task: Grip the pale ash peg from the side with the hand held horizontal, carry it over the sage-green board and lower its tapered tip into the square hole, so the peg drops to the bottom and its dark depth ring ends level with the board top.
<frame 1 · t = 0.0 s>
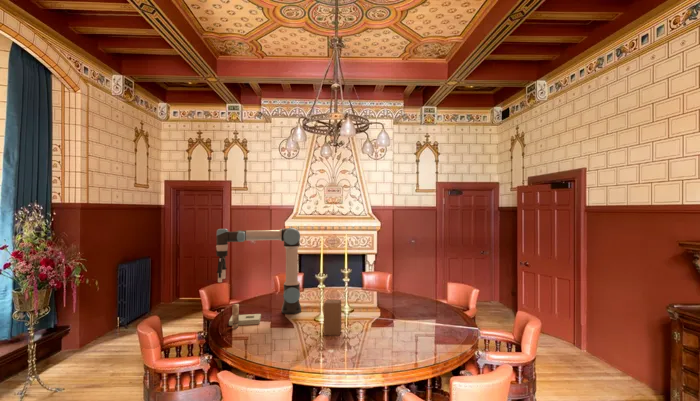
hand: (221, 280, 250), 28 cm above the table, tool pointing down, fingers open, 13 cm apart
block: (332, 333, 221), on the table
board: (245, 321, 246), on the table
peg: (235, 327, 233), on the table
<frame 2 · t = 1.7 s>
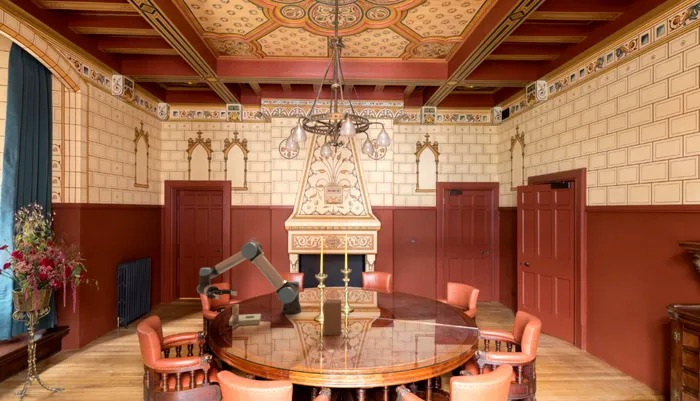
hand: (227, 295, 240), 20 cm above the table, tool horizontal, fingers open, 13 cm apart
nothing on the table moved.
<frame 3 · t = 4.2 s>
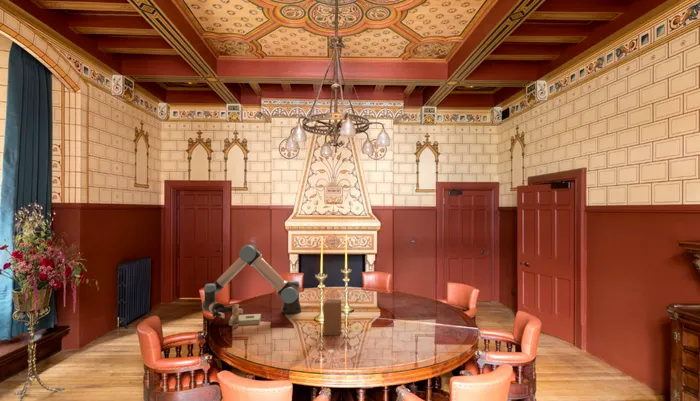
hand: (233, 313, 234), 9 cm above the table, tool horizontal, fingers open, 13 cm apart
nothing on the table moved.
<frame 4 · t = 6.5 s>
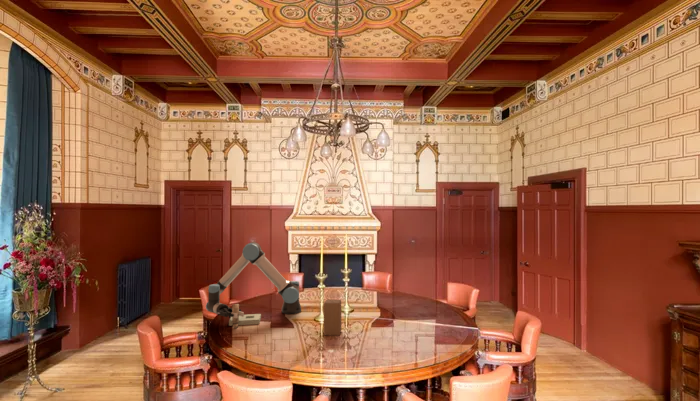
hand: (240, 315, 230), 9 cm above the table, tool horizontal, fingers closed on peg, 4 cm apart
peg: (235, 327, 233), on the table, touching gripper
everything else where it was.
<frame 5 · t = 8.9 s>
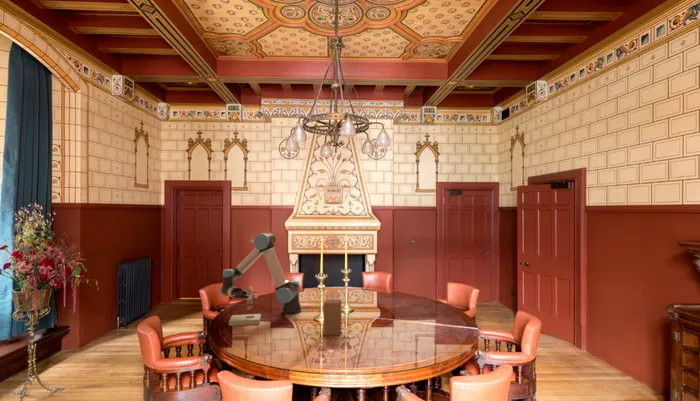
hand: (254, 296, 243), 18 cm above the table, tool horizontal, fingers closed on peg, 4 cm apart
peg: (249, 308, 246), point 9 cm above the table, touching gripper
everything else where it was.
when the fingers open (10 cm above the table, at t = 11.5 s): peg stays where it is, resting in board.
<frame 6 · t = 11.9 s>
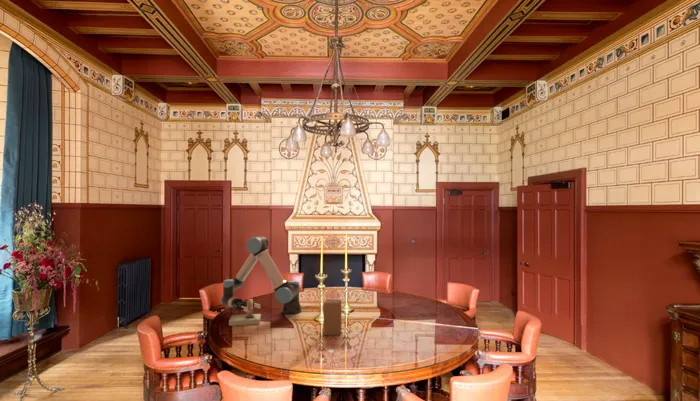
hand: (253, 308, 244), 10 cm above the table, tool horizontal, fingers open, 10 cm apart
peg: (249, 321, 246), resting in board
everything else where it was.
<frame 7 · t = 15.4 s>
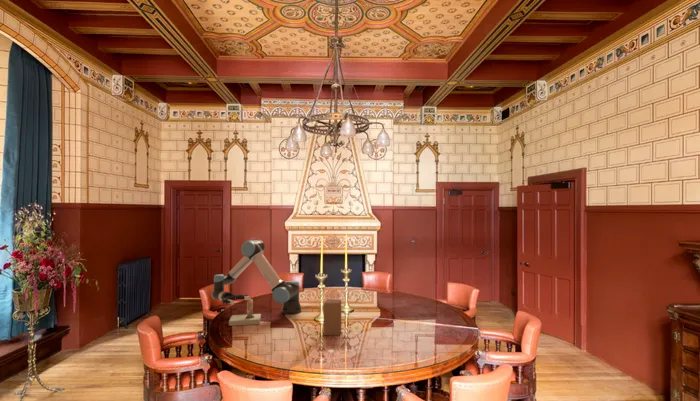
hand: (241, 300, 253), 13 cm above the table, tool horizontal, fingers open, 13 cm apart
nothing on the table moved.
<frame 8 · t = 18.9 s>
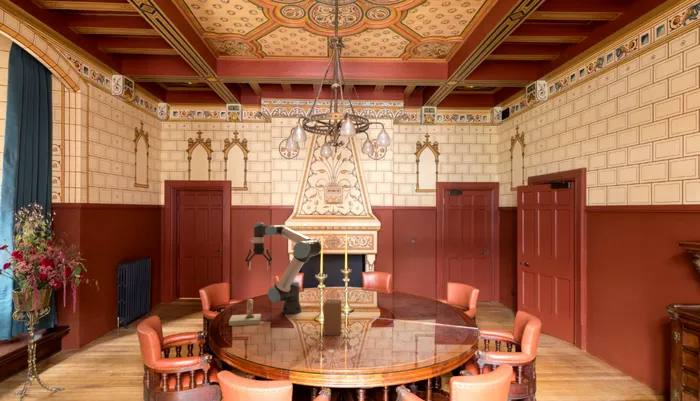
hand: (258, 270, 273), 32 cm above the table, tool pointing down, fingers open, 13 cm apart
nothing on the table moved.
at the end: peg 0.1 cm from the target spot on the board, point 0.0 cm above the board's base; peg tilted 0°; the gripper is holding nothing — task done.
